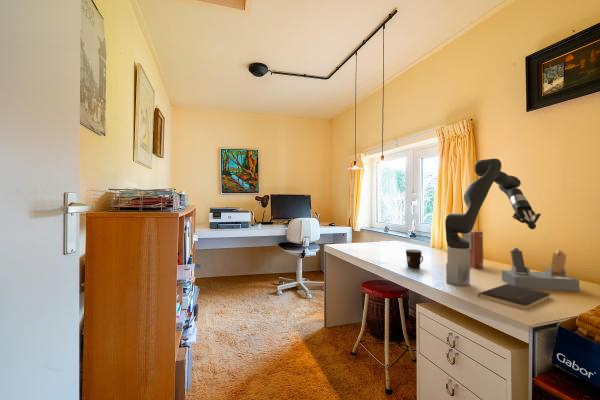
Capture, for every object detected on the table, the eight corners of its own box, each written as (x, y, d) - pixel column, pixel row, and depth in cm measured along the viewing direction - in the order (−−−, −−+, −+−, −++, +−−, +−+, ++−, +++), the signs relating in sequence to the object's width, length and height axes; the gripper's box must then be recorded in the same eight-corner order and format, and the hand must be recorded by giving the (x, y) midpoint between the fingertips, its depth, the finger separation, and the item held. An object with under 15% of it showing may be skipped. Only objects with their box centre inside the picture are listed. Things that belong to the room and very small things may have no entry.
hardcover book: (550, 299, 110) (550, 293, 110) (525, 311, 98) (525, 305, 98) (505, 288, 124) (505, 283, 124) (478, 297, 112) (478, 292, 112)
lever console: (515, 287, 123) (514, 269, 123) (501, 280, 134) (501, 263, 134) (579, 291, 117) (579, 272, 117) (560, 283, 129) (559, 266, 129)
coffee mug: (404, 265, 166) (404, 249, 166) (419, 266, 164) (419, 249, 164) (408, 270, 154) (408, 252, 154) (424, 271, 152) (424, 253, 152)
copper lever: (552, 275, 123) (556, 251, 121) (549, 272, 126) (553, 249, 123) (563, 276, 122) (567, 252, 120) (559, 273, 125) (563, 249, 122)
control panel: (470, 263, 171) (485, 269, 156) (458, 263, 171) (473, 269, 156) (469, 229, 171) (485, 231, 156) (458, 229, 171) (473, 231, 156)
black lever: (516, 272, 127) (511, 247, 131) (513, 272, 129) (509, 248, 133) (526, 272, 126) (521, 247, 130) (523, 273, 128) (518, 248, 132)
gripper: (508, 199, 152) (521, 223, 140) (536, 199, 149) (551, 223, 137) (504, 208, 157) (515, 232, 145) (531, 208, 154) (545, 233, 142)
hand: (533, 228), depth 141 cm, fingers closed
